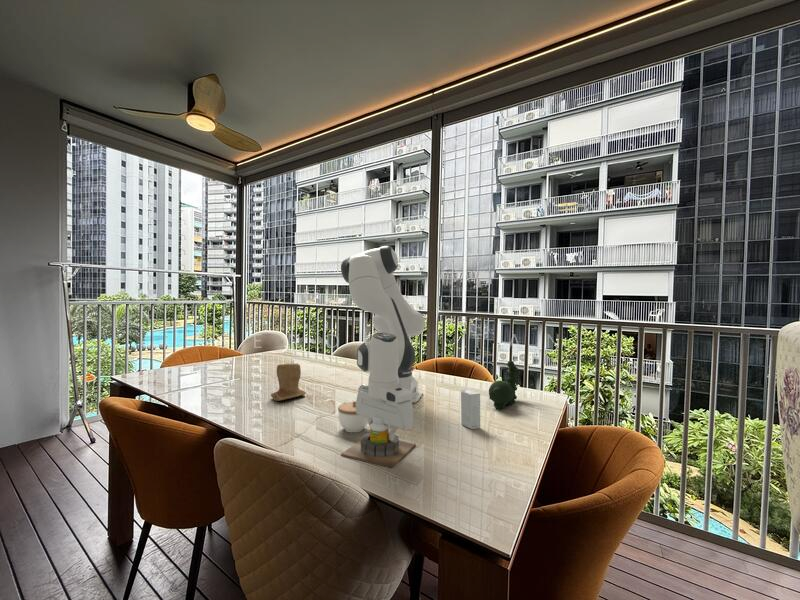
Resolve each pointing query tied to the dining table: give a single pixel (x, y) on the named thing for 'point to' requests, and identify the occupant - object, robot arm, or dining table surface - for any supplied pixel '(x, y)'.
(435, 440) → the dining table surface
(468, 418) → the skincare box
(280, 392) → the brown flared stand
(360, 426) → the lidded jar
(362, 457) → the grey ring on slab
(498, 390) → the toy figurine
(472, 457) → the dining table surface
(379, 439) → the supplement bottle
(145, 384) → the dining table surface
